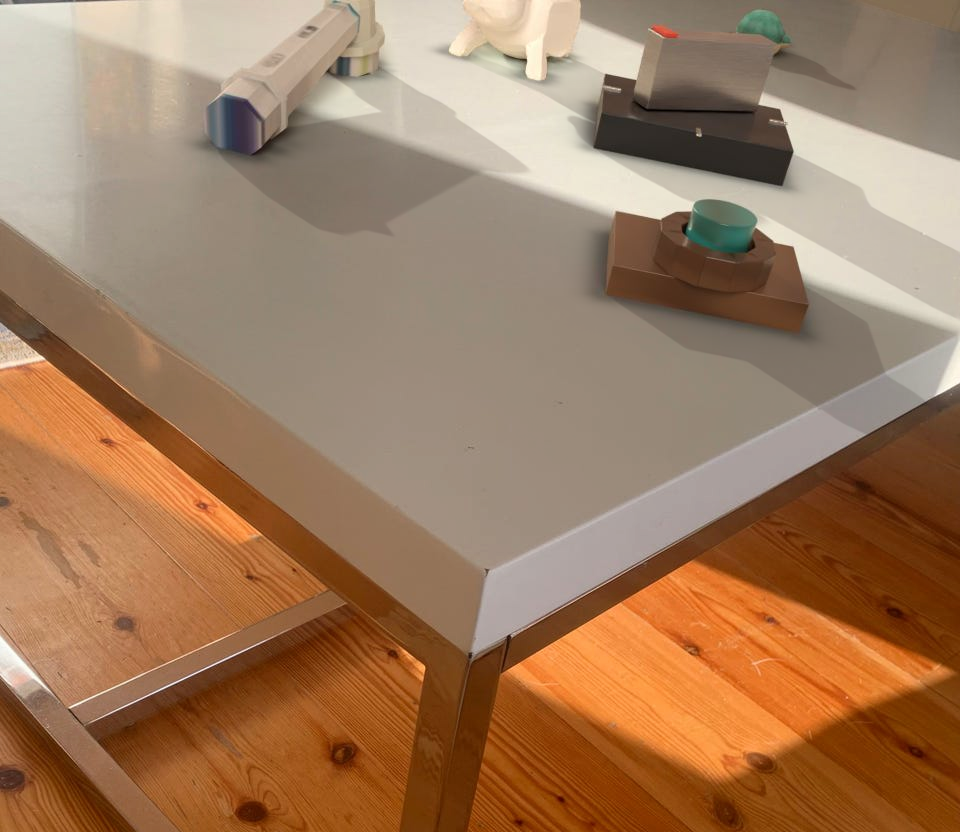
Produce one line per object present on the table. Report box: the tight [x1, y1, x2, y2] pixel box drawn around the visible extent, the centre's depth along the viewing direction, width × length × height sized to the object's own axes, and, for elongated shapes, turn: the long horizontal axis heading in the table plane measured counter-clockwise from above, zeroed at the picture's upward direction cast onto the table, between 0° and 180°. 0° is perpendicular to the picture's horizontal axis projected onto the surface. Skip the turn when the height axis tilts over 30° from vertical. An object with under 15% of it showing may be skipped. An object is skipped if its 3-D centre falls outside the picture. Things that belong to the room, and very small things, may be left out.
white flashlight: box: [203, 0, 386, 156], centre depth 78 cm, size 5×7×25 cm
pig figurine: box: [448, 0, 582, 81], centre depth 93 cm, size 9×8×15 cm
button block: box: [605, 210, 810, 334], centre depth 64 cm, size 11×9×4 cm
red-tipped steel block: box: [632, 24, 777, 112], centre depth 83 cm, size 10×2×5 cm, turn 114°
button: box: [685, 198, 758, 253], centre depth 62 cm, size 4×4×2 cm
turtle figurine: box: [735, 9, 791, 55], centre depth 114 cm, size 6×7×4 cm
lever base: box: [593, 73, 795, 187], centre depth 85 cm, size 14×14×3 cm
